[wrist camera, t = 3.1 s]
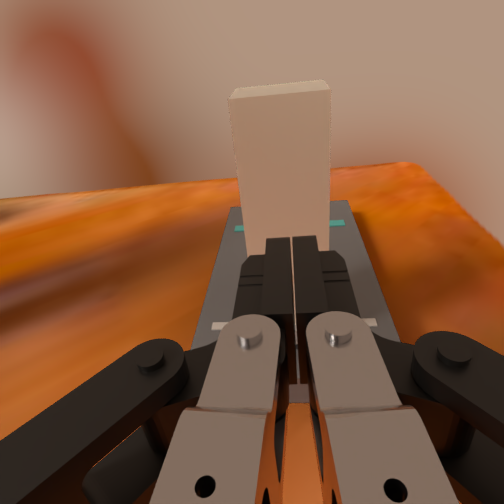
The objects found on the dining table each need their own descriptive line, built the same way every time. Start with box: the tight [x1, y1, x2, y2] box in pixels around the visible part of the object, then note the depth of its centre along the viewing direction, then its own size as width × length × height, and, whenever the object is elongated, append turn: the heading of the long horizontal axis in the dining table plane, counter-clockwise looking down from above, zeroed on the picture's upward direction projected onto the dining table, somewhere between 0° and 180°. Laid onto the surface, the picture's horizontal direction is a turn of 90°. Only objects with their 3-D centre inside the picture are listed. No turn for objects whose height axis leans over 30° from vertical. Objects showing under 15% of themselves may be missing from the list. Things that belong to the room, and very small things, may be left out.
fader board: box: [191, 200, 401, 403], centre depth 29 cm, size 12×22×2 cm, turn 176°
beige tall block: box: [228, 80, 331, 344], centre depth 19 cm, size 5×4×13 cm
